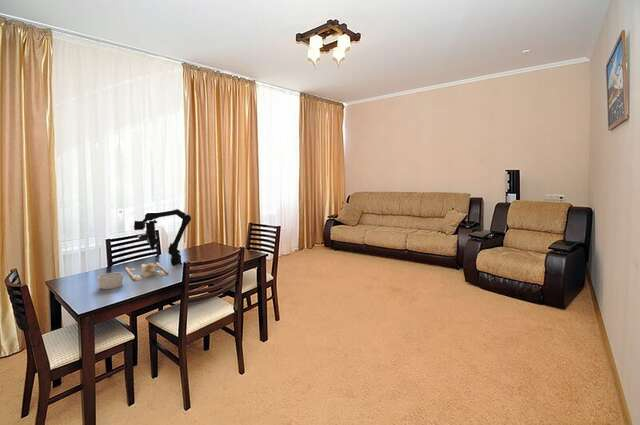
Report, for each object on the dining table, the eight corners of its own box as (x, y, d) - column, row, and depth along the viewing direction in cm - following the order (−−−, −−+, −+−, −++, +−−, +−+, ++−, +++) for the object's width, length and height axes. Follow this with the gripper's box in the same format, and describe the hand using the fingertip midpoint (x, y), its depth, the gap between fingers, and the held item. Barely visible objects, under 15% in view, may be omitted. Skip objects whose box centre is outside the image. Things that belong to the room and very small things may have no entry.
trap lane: (157, 264, 251) (157, 262, 251) (168, 274, 226) (168, 272, 226) (125, 269, 238) (125, 267, 238) (133, 281, 213) (133, 278, 213)
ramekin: (119, 281, 213) (118, 270, 212) (127, 285, 205) (126, 274, 204) (95, 287, 203) (94, 276, 202) (103, 291, 194) (102, 280, 194)
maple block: (153, 272, 231) (152, 262, 230) (155, 274, 225) (154, 264, 224) (142, 274, 227) (141, 264, 226) (144, 277, 221) (143, 266, 220)
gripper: (135, 228, 245) (137, 249, 247) (140, 232, 230) (142, 254, 232) (152, 227, 252) (153, 247, 254) (158, 230, 237) (159, 251, 239)
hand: (152, 250), depth 245 cm, fingers closed
